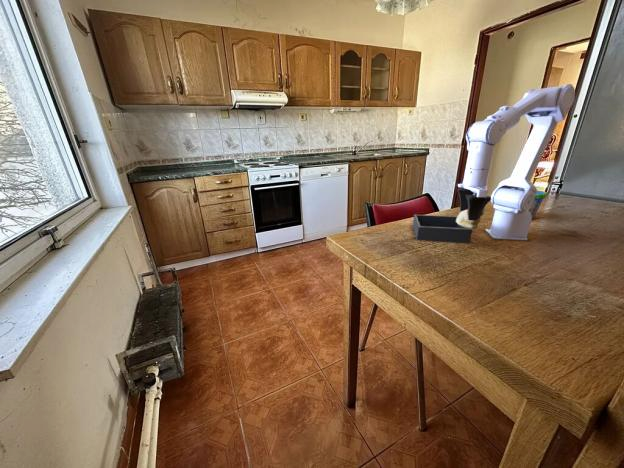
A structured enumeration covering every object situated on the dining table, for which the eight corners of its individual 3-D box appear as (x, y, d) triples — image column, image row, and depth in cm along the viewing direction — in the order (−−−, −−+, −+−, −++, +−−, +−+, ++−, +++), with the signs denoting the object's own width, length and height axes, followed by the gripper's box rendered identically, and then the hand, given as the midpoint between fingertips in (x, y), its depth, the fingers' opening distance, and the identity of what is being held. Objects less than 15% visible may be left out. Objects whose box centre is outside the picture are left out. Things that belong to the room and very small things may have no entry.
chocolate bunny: (458, 227, 74) (466, 193, 70) (454, 219, 81) (462, 188, 77) (480, 230, 72) (490, 195, 68) (474, 222, 79) (483, 190, 75)
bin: (458, 228, 93) (460, 216, 91) (469, 243, 81) (472, 229, 79) (412, 226, 97) (414, 214, 95) (416, 239, 85) (418, 226, 83)
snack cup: (509, 210, 111) (515, 186, 107) (541, 214, 104) (549, 189, 100) (501, 218, 101) (507, 193, 97) (535, 224, 94) (543, 197, 90)
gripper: (454, 165, 78) (447, 208, 83) (469, 172, 65) (459, 223, 70) (480, 165, 76) (472, 209, 81) (501, 172, 63) (489, 224, 68)
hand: (468, 215), depth 75 cm, fingers closed on chocolate bunny, 7 cm apart
